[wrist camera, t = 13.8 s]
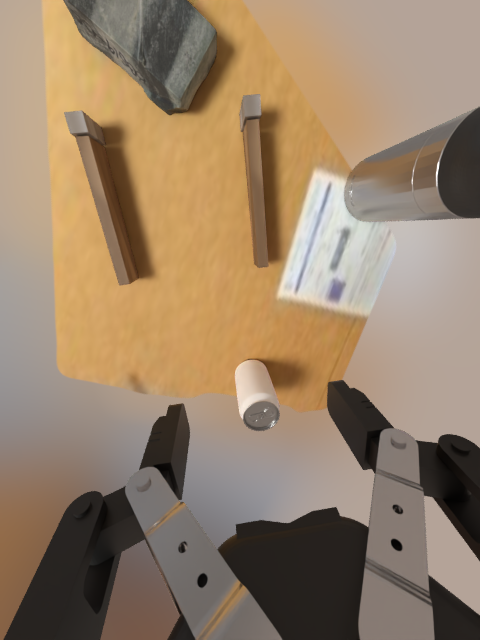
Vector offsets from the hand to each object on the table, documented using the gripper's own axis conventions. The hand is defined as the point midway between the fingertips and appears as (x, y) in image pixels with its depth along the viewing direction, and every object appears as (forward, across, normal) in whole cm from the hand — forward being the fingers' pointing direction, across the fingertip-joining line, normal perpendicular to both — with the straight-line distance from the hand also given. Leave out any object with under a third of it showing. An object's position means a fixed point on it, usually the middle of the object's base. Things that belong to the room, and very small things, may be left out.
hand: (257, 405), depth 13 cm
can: (+30, -2, +18) cm, 35 cm away
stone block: (+31, +6, -31) cm, 44 cm away
